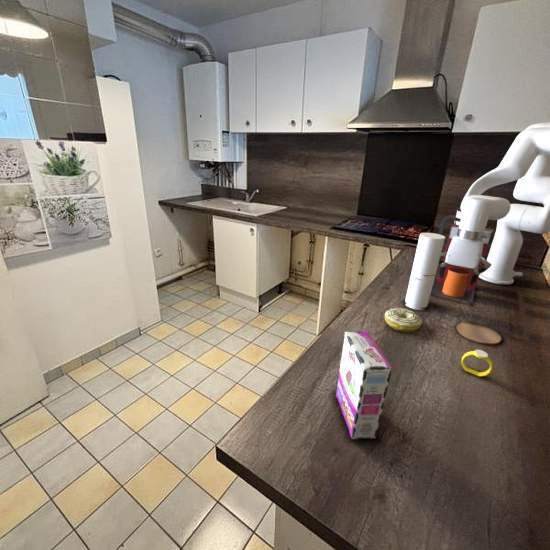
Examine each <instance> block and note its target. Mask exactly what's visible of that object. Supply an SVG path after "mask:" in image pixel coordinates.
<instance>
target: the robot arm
mask: <svg viewBox="0 0 550 550" xmlns="http://www.w3.org/2000/svg"><path fill="white" fill-rule="evenodd" d="M514 181H517V182H516V184H515V186H514V189H513V193H512V195H513V198H514V199H516V200H518V201H521V202H522V201H523V202H529V203H530V202H531V203H537V204H544V207H543V206H536V205H529V204H521V203H510V201H509V200H508V199H506V198H504V197H499V196H491V195H483V193H485V192H486V191H487V190H489V189H491V188H494V187H496V186H500V185H503V184H508V183H511V182H514ZM460 205H461V212H462V213H463V214H462V218H461V221H460V225H459V228H458V232H457V235H456V236H454V237H453V239H452V241H451V244H450V246H449V249H448V251H445V250H444V251H441V255H440V259H439V263H438V266H439V267H440V269H439V271H438V276H439V275H441V276H440V278H442V277H443V275H444V271H445V268H446V267H445V266H446V265H448V264H451V265H456V266H461V267H466V268H472V269H473V271H474V273H473V276H472V279H471V282H470V284H471V285H472V284H473V282H476V280H477V276H478V275H479V274H480V275H479V278H478V279H481V280H483V281H485V282H489V283H492V284H496V285H506V286H508V285H512V284H514V281H515V280H514V278H515V277H518V278H520V277H523V275H524V274H523V272H522V271H515V270H514V268H515V265H516V262H517V260H518V257H519V254H520V252H521V249H522V246H523V242H524V238H523V235H522V233H521V231H523V232H528V233H533V234H538V235H539V234H541V235H544V234H548V233H550V121H545V122H537V123H533V124H531V125H528V126H527V127H526V128H525V129H524V130H522V131H521V132H519V133H518V135H516V137H515V139H514V141H513V142H512V144H511V145H510V147H509V149H508V150H507V152H506V153H505V155H504V157H503V158H502V160H501V161H500V163H499V165H498V166H497V167H496V168H494V169H492V170H490V171H488V172H487V173H485V174H484V175H482V176H481V177H479V178H478V179H476V180H475V181H474V182H473V183H472V184H471V186H470V187H469V189H468V191H467V192H466V193H465V195H464V197H463V199H462V201H461V204H460ZM490 220H491V221H496V222H497V223H496V228H495V229H496V230H495V233H494V236H493V239H492V242H491V245H490V248H489V251H488V255H487V257H486V258H485V259H484V258H482V257H481V254H482V250H483V244H484V240H482V238H488V234H486V233H485V232H484V230H485V228H486V227H487V224H488V221H490ZM444 255H446V260H445V261H444V262H443V261H442V260H443V259H442V258H441V257H443V256H444ZM479 261H480V262H482V263H483V265H484V266H482V268H480V269H479V268H478V264H479Z"/></svg>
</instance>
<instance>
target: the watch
mask: <svg viewBox="0 0 550 550" xmlns="http://www.w3.org/2000/svg"><path fill="white" fill-rule="evenodd" d="M470 356H475V357H476V358H477V359H480V360H485V361H486V362H487V363H488V364H489V368H488V369H487V370H485V371H481V372H479V371H477V370H475V369H472V368H470V367H468V366H467V365H466V363H465V359H466V358H467V357H470ZM461 366H462V369H464V371H465V372H468V373H470V374H473V375H475V376H477V377H486V376H488V375H490V374H491V373H492V370H493V361H492V359H491V358H490V357H489V354H488V353H487V351H484V350H482V349H474V351H473V350H472V351H471V350H470V351H468V352H466V353H464V354H463V356H462V357H461Z"/></svg>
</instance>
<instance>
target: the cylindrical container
mask: <svg viewBox="0 0 550 550" xmlns="http://www.w3.org/2000/svg"><path fill="white" fill-rule="evenodd" d="M445 240H446V236H445V235H443V234H442V235H439V234H438V233H434V232H421V233H419V237H418V242H417V246H416V251H415V254H414V260H413V264H412V269H411V274H410V277H409V282H408V287H407V290H406V295H405V303H404V305H405V306H406V307H407V308H410V309H412V310H417V311H425V310H426V308H427V307H428V305H429V302H430V298H431V294H432V291H433V286H434V283H435V279H436V274H437V271H438V267H439V264H438V263H439V259H440V258H441V256H440V255H441V252H443V251H442V250H443V248H444V246H443V244H444V242H445Z"/></svg>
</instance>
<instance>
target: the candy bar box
mask: <svg viewBox="0 0 550 550" xmlns="http://www.w3.org/2000/svg"><path fill="white" fill-rule="evenodd" d="M343 336H344V337H343V344H342V349H341V350H342V351H341V358H340V363H339V364H340V365H339V371H338V378H337V383H336V390H335V391H336V392H335V396H336V399H337V401H338V404H339V407H340V410H341V412H342V415H343V418H344V421H345V424H346V426H347V430H348V432H349V435H350V438H351V440H372V439H376V438H377V435H378V430H379V426H380V422H381V418H382V413H383V409H384V405H385V401H386V396H387V393H388V388H389V384H390V379H391V375H392V371H393V367H392V365H391V364H390V363H389V361H388V360H387V358H386V357H385V356H384V354H383V352H382V351H381V349H380V348H379V346H378V345H377V344H376V342H375V341H374V339H373V338H372V336H371V334H370V333H369V331H366V330H365V331H362V330H361V331H344V335H343Z"/></svg>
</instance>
